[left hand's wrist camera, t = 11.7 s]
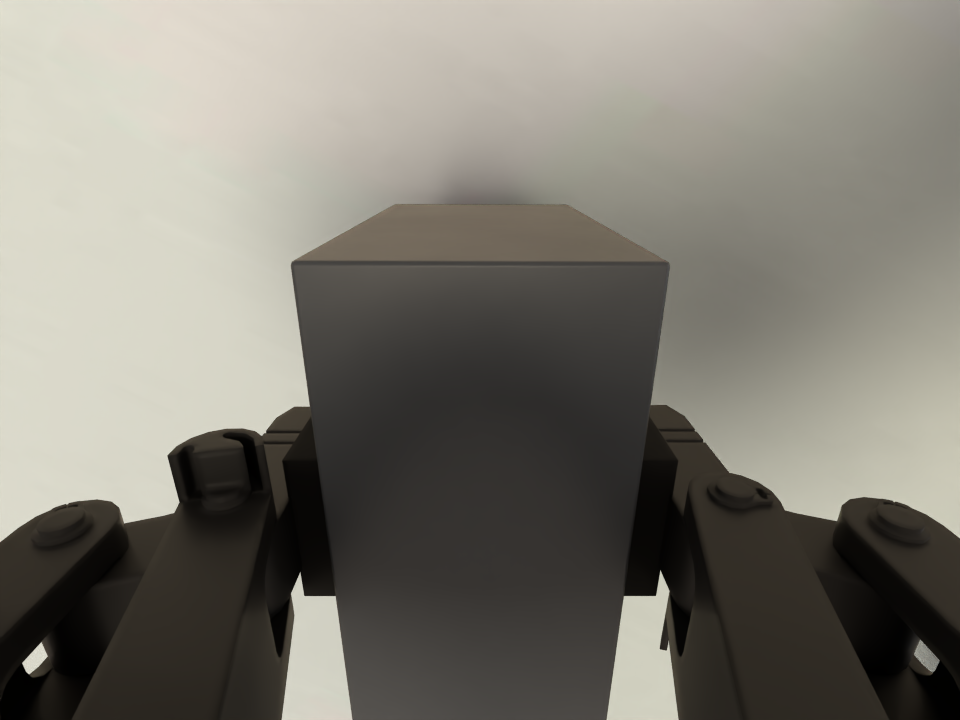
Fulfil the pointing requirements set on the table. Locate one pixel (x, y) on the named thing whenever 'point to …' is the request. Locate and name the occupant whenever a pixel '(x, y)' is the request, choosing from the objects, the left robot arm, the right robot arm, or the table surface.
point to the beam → (479, 452)
